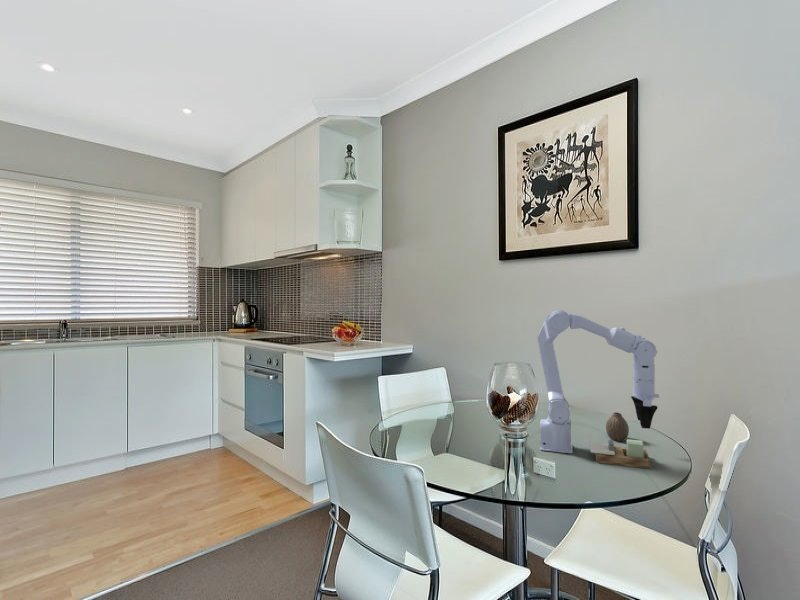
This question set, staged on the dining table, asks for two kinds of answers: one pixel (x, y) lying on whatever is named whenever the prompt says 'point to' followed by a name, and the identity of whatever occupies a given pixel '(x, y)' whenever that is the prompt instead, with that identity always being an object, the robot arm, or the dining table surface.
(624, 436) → the vase
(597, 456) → the wooden tray
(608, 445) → the cover
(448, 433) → the dining table surface
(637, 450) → the block
